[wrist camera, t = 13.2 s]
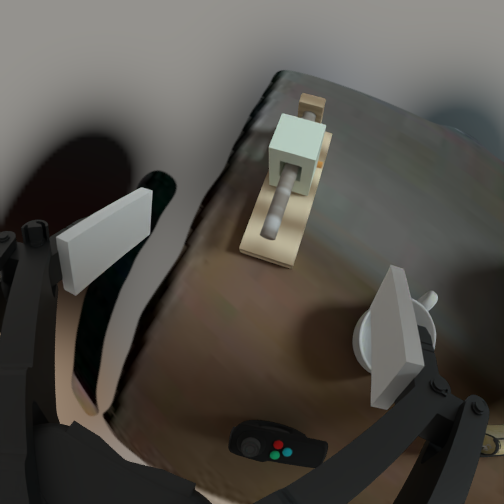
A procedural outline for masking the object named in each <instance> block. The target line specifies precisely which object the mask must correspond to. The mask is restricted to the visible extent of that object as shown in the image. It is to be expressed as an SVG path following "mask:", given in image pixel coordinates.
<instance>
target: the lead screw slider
mask: <svg viewBox="0 0 504 504" xmlns="http://www.w3.org/2000/svg"><path fill="white" fill-rule="evenodd" d="M325 101H326V99H324V98H320V97H317V96H313V95H309V94H305V93H302V95H301V98H300V101H299V108H298V117H299V118H302V119H306V120H310V121H313V122H317V123H320V124H321V121H322V116H323V111H324V106H325ZM331 137H332V134H331V133H328V132H325V133H324V137H323V142H322V146H321V150H320V155H319V159H318V163H317V167H316V170H315V173H314V177H313V180H312V183H311V187H310V190H309V193H308V196H306V195H302V194H299V193H296V192H292V188H293V185H294V183H295V180H296V177H297V173H298V170H299V167H300V166H297V165H294V164H290V163H287V162H286V163H285V166H284V168H283V171H282V174H281V177H280V179H279V182H278V185H277V187H275V186H272V185H269V170H268V173H267V175H266V178H265V180H264V183H263V186H262V188H261V191H260V194H259V196H258V199H257V201H256V204H255V207H254V209H253V212H252V215H251V217H250V220H249V223H248V225H247V228H246V231H245V233H244V236H243V239H242V241H241V244H240V247H239V250H240V252H241V253H244V254H247V255H250V256H253V257H256V258H259V259H262V260H265V261H269V262H272V263H275V264H278V265H281V266H284V267H287V268H290V269H292V267H293V264H294V261H295V258H296V255H297V252H298V249H299V246H300V242H301V239H302V236H303V233H304V230H305V226H306V223H307V220H308V217H309V213H310V210H311V207H312V203H313V200H314V197H315V193H316V190H317V187H318V183H319V180H320V176H321V173H322V169H323V166H324V162H325V159H326V155H327V152H328V148H329V145H330V141H331Z"/></svg>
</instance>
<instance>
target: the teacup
mask: <svg viewBox="0 0 504 504" xmlns="http://www.w3.org/2000/svg"><path fill="white" fill-rule="evenodd" d="M411 300H412V304H413V308H414V313H415V317H416V322H417V325H419V326H423V327H426V329H427V331H428V332H429V334H430V335H431V338H432V343H433V347H434V348H435V342H436V331H435V326H434V323H433V320H432V318H431V316H430V314H429V312H428V311H429V310H430V309H431V308H432V307H433V306H434V305H435V304H436V302H437V300H438V296H437V294H436V293H435V292H434V291H428V292H427V293H425V294H424V295H423V296H422V297H421V298H419V299H418V300H417V301H416V300H414V299H412V298H411ZM353 350H354V354H355V356H356V358H357V360H358V362H359V363H360V365H361V366H362V367H363V368H364V369H365V370H367V371H368V372H370V373H371V316H370V308H369V309H368V310H367V311H366V312H365V313H364V314H363V315H362V316H361V317H360V319H359V320H358V322H357V324H356V326H355V329H354V333H353Z"/></svg>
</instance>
